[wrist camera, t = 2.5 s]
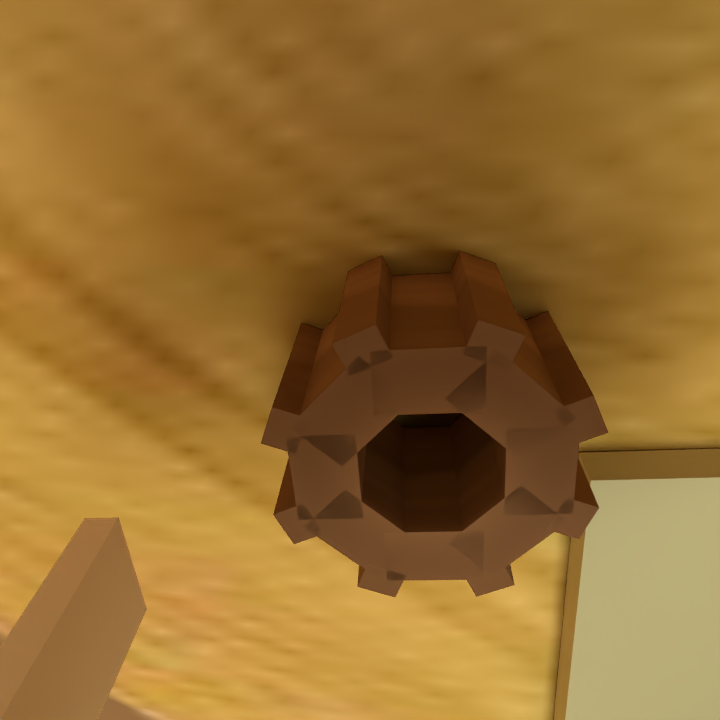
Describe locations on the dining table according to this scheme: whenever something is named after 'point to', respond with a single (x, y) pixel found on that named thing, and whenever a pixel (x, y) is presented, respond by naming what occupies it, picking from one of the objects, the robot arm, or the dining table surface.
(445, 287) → the walnut gear
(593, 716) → the gear board
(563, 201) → the dining table surface
